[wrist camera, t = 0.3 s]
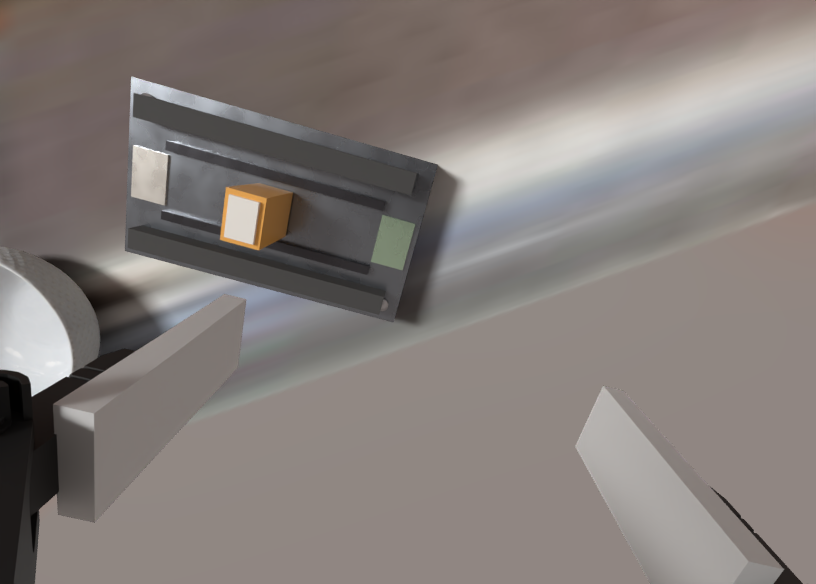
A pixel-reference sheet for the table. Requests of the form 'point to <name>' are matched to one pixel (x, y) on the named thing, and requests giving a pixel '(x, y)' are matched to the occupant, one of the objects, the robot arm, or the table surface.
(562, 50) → the table surface
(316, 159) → the long dark grey rail
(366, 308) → the dark grey edge bar
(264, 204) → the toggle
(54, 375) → the cereal bowl
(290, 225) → the grey slider base
